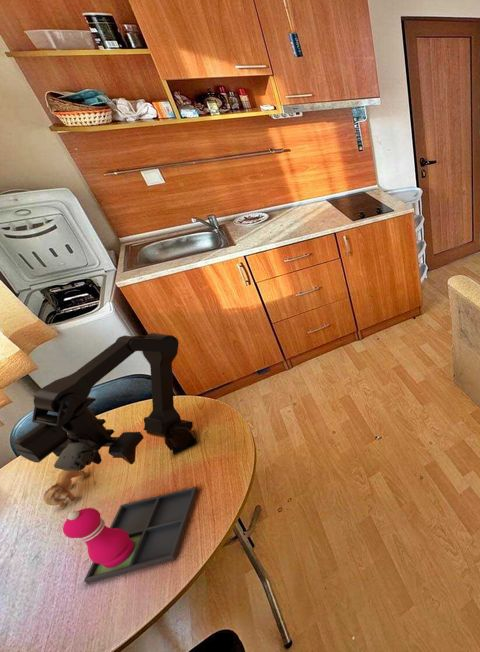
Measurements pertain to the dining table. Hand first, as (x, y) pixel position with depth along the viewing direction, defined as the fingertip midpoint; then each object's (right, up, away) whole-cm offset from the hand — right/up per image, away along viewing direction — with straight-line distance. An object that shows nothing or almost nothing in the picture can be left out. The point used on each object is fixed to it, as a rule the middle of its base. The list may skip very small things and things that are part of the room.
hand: (116, 462), depth 100 cm
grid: (+11, -17, -3) cm, 21 cm away
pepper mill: (+8, -20, -7) cm, 23 cm away
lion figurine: (-18, -12, +6) cm, 22 cm away
